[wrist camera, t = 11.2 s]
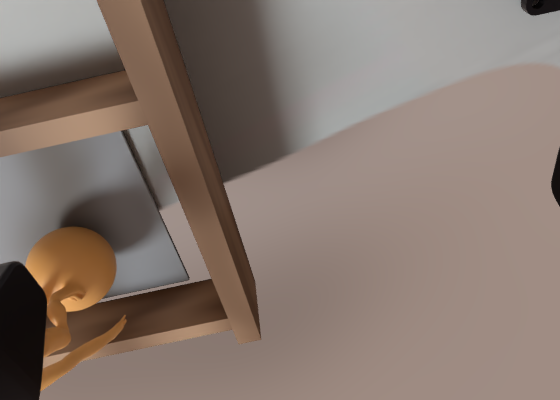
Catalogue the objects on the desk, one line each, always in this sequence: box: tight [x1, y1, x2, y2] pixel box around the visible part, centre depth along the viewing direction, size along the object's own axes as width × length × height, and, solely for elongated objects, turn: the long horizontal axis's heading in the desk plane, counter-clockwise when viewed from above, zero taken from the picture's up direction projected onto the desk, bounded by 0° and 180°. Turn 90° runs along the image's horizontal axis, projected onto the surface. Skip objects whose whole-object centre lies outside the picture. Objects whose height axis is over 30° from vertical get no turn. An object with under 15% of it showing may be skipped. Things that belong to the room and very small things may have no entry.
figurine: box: [25, 227, 127, 391], centre depth 19 cm, size 8×6×12 cm
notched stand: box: [0, 0, 261, 368], centre depth 18 cm, size 13×27×4 cm, turn 10°
